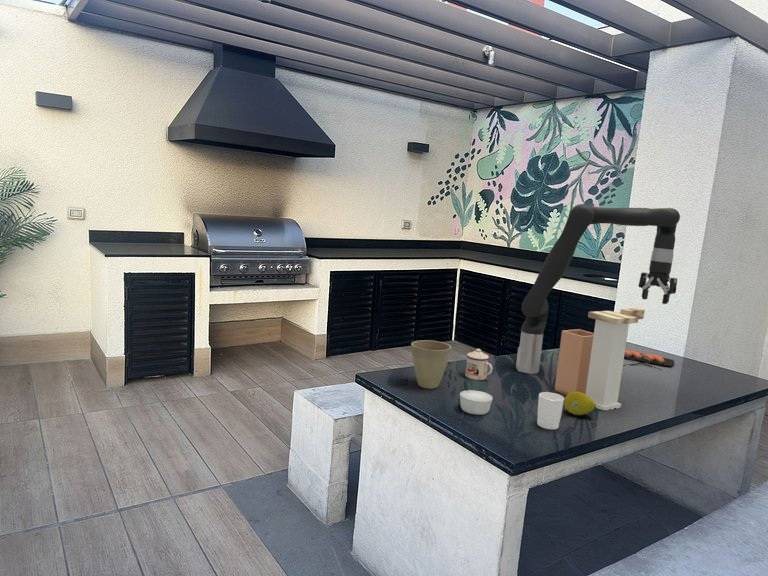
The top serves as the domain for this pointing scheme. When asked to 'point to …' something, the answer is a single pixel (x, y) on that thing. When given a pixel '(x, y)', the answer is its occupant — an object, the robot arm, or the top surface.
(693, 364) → the top surface
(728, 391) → the top surface
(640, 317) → the tan t-shaped block
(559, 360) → the tall open box
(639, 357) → the sushi plate
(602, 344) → the pedestal
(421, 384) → the plant pot
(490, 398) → the ramekin
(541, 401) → the white cup
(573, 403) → the lemon
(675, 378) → the top surface
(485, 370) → the teacup with lid
